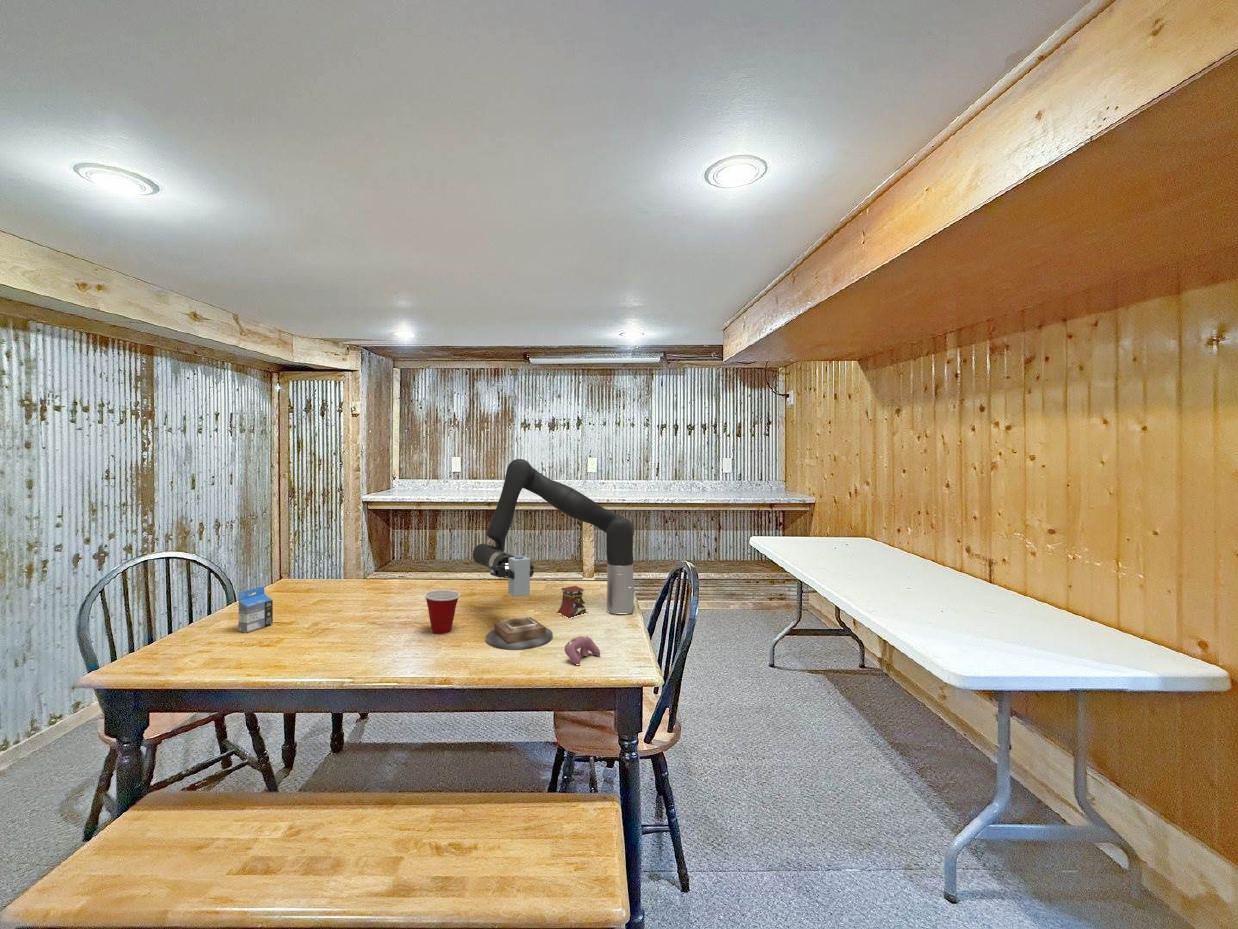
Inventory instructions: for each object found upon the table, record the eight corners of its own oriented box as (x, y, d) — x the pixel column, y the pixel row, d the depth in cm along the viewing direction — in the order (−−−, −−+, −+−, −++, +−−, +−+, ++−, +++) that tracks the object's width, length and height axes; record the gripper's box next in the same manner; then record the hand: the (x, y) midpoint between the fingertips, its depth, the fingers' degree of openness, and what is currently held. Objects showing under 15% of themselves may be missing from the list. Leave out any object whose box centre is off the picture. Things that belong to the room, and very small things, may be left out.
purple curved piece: (591, 658, 157) (583, 634, 159) (602, 655, 155) (594, 630, 156) (567, 669, 149) (559, 643, 151) (579, 665, 147) (570, 639, 149)
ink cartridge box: (247, 633, 171) (246, 593, 171) (237, 632, 172) (237, 592, 172) (273, 625, 179) (273, 587, 179) (264, 623, 181) (264, 586, 180)
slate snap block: (523, 591, 172) (524, 553, 172) (529, 595, 168) (530, 556, 168) (508, 593, 170) (508, 555, 169) (514, 597, 166) (514, 558, 165)
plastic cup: (449, 638, 169) (449, 598, 168) (417, 635, 171) (417, 596, 170) (466, 627, 179) (466, 590, 179) (435, 624, 181) (435, 588, 181)
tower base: (537, 624, 183) (537, 609, 183) (563, 642, 166) (563, 626, 166) (477, 634, 172) (477, 618, 172) (498, 654, 155) (498, 637, 155)
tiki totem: (568, 619, 188) (568, 593, 188) (556, 613, 195) (556, 587, 195) (589, 615, 193) (590, 589, 193) (576, 609, 200) (576, 584, 200)
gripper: (482, 554, 177) (499, 564, 163) (524, 551, 185) (544, 560, 170) (481, 578, 178) (499, 590, 163) (524, 573, 185) (544, 584, 170)
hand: (522, 574), depth 167 cm, fingers closed on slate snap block, 5 cm apart
